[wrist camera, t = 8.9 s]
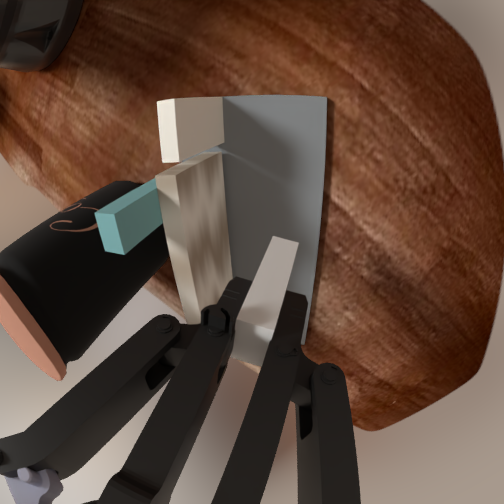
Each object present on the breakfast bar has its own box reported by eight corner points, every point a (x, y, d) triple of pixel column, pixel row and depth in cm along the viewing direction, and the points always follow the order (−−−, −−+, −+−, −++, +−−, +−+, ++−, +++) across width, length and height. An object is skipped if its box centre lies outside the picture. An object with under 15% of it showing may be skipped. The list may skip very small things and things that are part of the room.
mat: (180, 101, 20) (177, 101, 20) (326, 97, 17) (326, 97, 17) (208, 321, 33) (206, 325, 33) (305, 340, 30) (304, 344, 30)
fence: (208, 98, 19) (156, 101, 13) (222, 96, 19) (174, 98, 13) (227, 326, 32) (204, 372, 26) (237, 328, 31) (215, 375, 26)
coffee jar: (161, 168, 24) (-6, 273, 9) (190, 264, 29) (84, 399, 14) (93, 185, 28) (-31, 266, 13) (122, 263, 33) (27, 359, 18)
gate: (233, 284, 27) (204, 334, 22) (219, 282, 28) (188, 330, 22) (221, 151, 21) (175, 175, 15) (204, 152, 21) (154, 175, 15)
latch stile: (194, 158, 23) (94, 212, 13) (210, 158, 22) (114, 214, 13) (196, 184, 24) (105, 251, 14) (212, 185, 24) (124, 254, 14)
